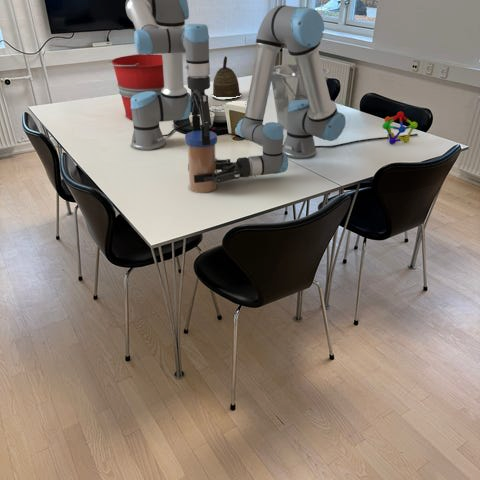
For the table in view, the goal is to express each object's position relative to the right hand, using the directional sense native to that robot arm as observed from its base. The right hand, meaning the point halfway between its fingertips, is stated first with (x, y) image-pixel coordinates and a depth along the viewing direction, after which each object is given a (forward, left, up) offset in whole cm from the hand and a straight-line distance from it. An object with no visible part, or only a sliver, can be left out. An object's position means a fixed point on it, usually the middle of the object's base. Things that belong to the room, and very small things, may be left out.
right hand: (191, 173), depth 164 cm
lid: (-4, +2, +14) cm, 14 cm away
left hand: (-4, +2, +13) cm, 13 cm away
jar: (-4, +2, -6) cm, 7 cm away
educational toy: (-103, +24, -6) cm, 106 cm away
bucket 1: (-40, -93, -6) cm, 102 cm away
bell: (-97, -94, -6) cm, 135 cm away
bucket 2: (-87, -26, -6) cm, 91 cm away
